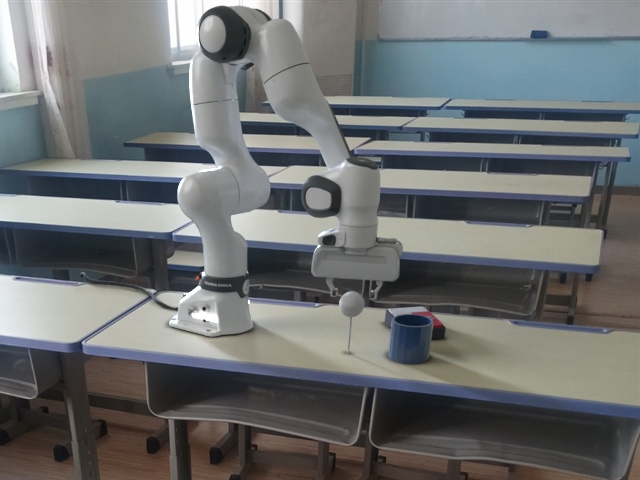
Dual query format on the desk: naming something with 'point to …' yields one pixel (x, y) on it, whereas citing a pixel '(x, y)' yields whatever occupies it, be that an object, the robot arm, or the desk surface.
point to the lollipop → (351, 307)
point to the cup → (410, 338)
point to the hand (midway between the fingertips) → (353, 297)
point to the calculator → (437, 325)
